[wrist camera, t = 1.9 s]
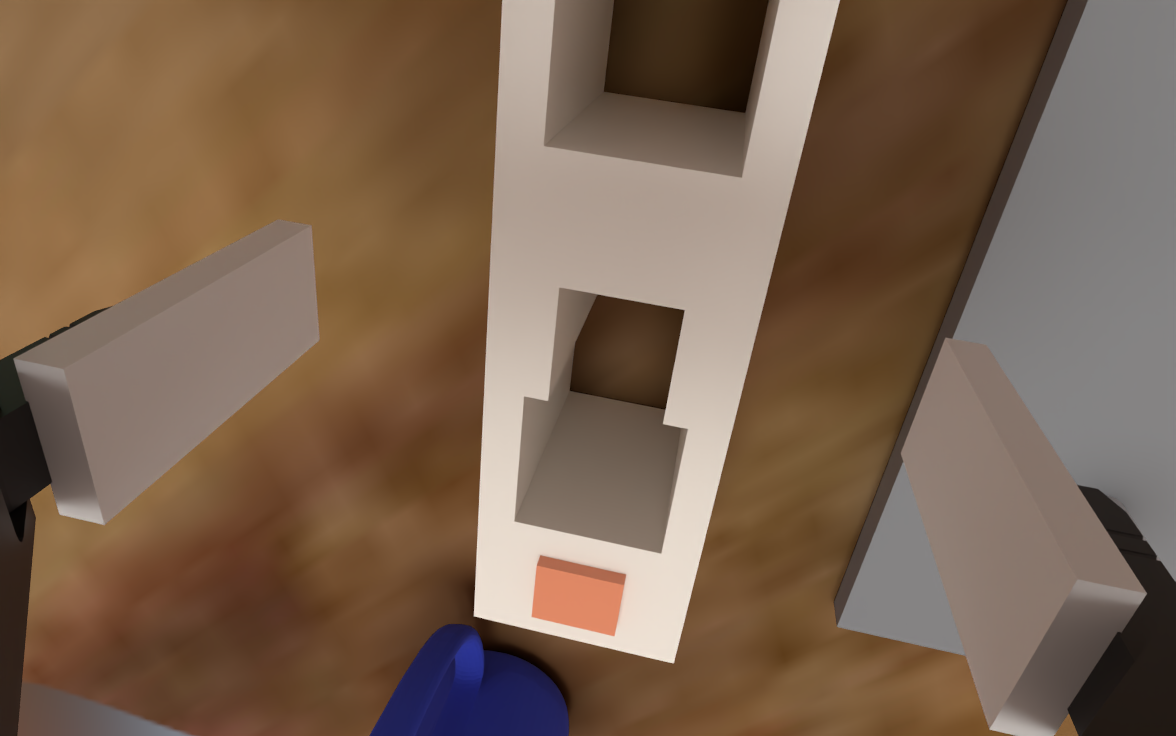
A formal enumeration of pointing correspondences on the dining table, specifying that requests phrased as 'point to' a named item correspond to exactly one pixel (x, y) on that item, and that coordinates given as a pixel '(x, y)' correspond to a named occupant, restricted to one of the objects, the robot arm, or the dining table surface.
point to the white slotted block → (633, 272)
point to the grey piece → (1062, 304)
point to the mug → (472, 693)
